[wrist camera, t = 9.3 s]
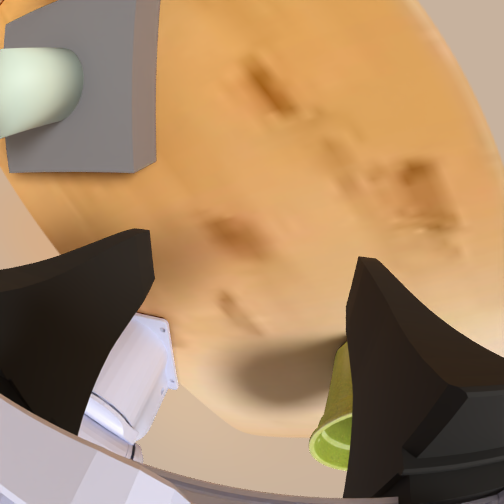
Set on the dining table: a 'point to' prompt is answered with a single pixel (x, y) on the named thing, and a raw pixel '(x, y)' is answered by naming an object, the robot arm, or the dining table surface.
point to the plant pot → (335, 417)
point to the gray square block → (94, 87)
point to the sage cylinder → (37, 87)
